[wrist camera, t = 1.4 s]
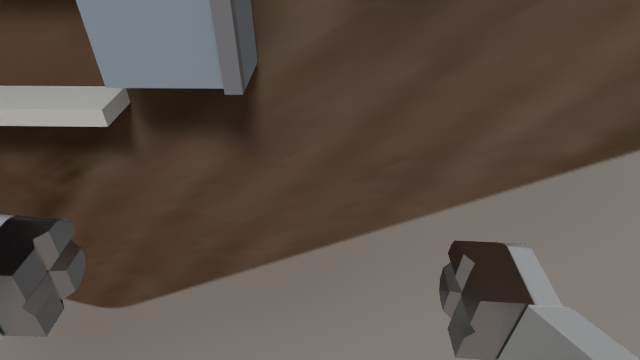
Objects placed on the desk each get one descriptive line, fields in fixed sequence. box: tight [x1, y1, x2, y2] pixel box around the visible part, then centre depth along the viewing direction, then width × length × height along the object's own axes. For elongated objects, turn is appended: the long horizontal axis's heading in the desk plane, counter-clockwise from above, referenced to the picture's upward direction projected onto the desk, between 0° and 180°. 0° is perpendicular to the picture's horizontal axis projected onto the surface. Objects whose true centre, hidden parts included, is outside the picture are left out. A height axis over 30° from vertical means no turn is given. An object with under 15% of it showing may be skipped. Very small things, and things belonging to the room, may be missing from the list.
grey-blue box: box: [76, 0, 258, 95], centre depth 23 cm, size 8×5×6 cm, turn 91°
